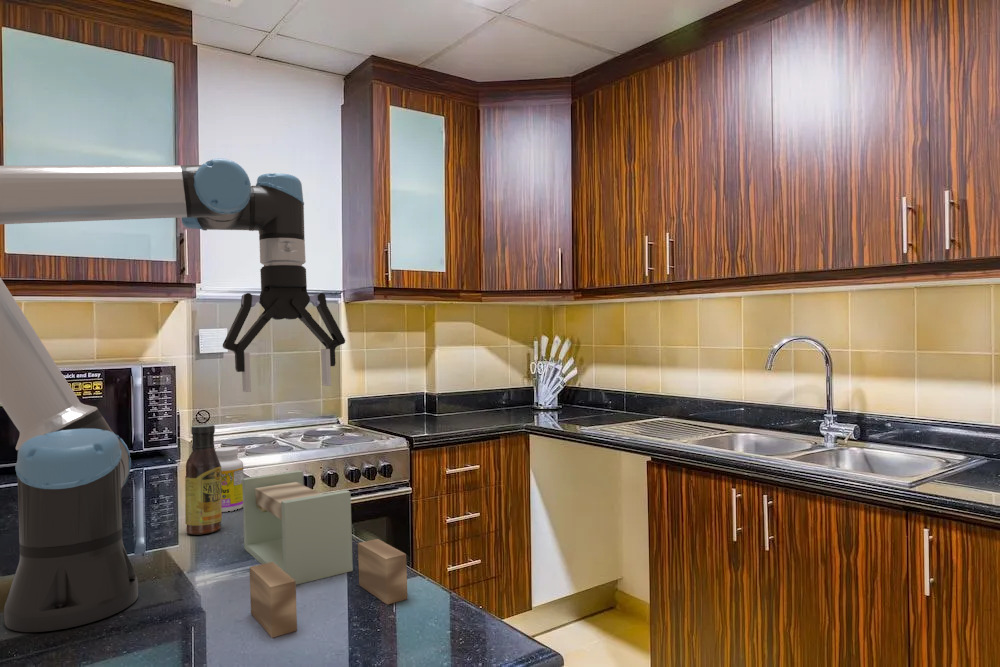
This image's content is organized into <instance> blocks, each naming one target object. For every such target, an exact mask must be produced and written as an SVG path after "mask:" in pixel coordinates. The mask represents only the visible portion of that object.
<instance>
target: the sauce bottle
mask: <svg viewBox="0 0 1000 667" xmlns="http://www.w3.org/2000/svg"><path fill="white" fill-rule="evenodd" d="M190 427H191V435H192V446H191V448H192V451H191V453H190V455H189V456H188V458H187V459H186V463H185V478H184V480H185V483H184V485H185V487H184V488H185V489H184V490H185V493H184V494H185V495H184V496H185V500H184V501H185V514H184V515H185V524H186V532H187V534H188V535H192V536H194V535H196V536H199V535H207V534H210V533H211V534H212V533H215V532H218V531H219V530H220V529H221V526H222V520H223V518H222V517H223V514H222V513H223V512H222V491H221V465H220V462H219V460H218V457H217V454H216V452H215V438H214V437H215V436H214V435H215V432H216V426H215V425H214V424H200V425H192V426H190Z"/></svg>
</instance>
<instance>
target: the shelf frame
mask: <svg viewBox="0 0 1000 667" xmlns="http://www.w3.org/2000/svg"><path fill="white" fill-rule="evenodd" d="M293 482H297V483H300V484H302V485H304V471H303V470H301V469H300V470H299V469H298V470H292V471H286V472H278V473H273V474H265V475H258V476H251V477H250V476H249V477H243V479H242V485H243V507H242V509H243V513H242V516H243V544H244V546H243V548H244V549H243V550H245V551H246V552H247V553H248V554H250V556H251V557H252V558H254V559H255V560H256V561H257V562H258V563H259V564H260V565H261V564H266V563H270V562H274V563H275V564H276V565H277V566H278V567H280V568H281V569H282V570H283V571H284V572H286V573H287V574H288V575H289V576H290V577H291V578H293V579H294V580H295V581H296V586H297V585H300V584H304V583H308V582H309V583H310V582H312V581H317V580H321V579H325V578H329V577H333V576H337V575H341V574H346V573H349V572H353V570H354V569H353V566H354V565H353V564H354V563H353V539H352V538H353V536H352V535H353V534H352V533H353V531H352V528H353V527H352V504H351V503H352V502H351V501H352V498H351V497H352V496H351V491H349V490H347V489H345V490H340V491H339V490H338V491H334V492H333V491H332V492H327V493H320V495H315V496H309V497H303V498H297V499H291V500H285V501H281V511H282V520H281V519H279V518H278V517H276V516H275V515H273V514H272V513H270V512H269V511H267V510H266V509H264V508H262V507H261V506H259V505H258V504H256V497H255V488H260V487H267V486H273V485H280V484H286V483H293Z"/></svg>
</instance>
